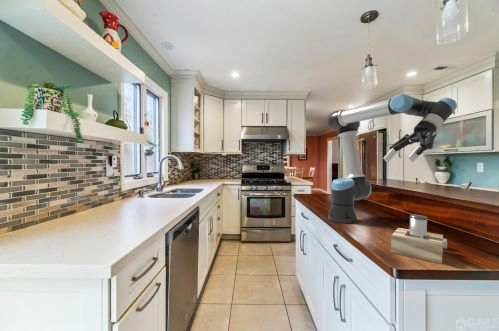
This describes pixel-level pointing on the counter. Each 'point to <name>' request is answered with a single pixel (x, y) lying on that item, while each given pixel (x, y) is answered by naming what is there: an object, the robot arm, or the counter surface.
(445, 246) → the pipe fitting
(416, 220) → the capped cylinder
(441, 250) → the socket block
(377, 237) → the counter surface
